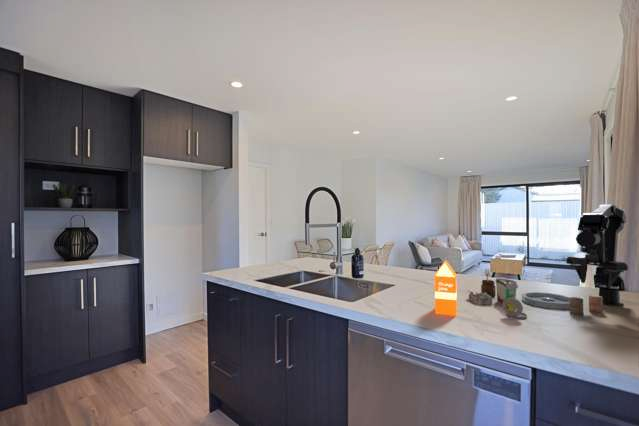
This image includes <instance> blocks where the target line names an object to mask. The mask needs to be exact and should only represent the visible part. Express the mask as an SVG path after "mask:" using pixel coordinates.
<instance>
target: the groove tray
mask: <svg viewBox="0 0 639 426" xmlns="http://www.w3.org/2000/svg"><path fill="white" fill-rule="evenodd" d="M570 297H571V296H567V295H563V294H557V293H550V292H542V291H541V292H539V291H530V292H524V293H522V294H521V299H522V300H521V301H522V302H523V303H525V304H528V305H530V306H535V307H538V308H544V309H552V310H570Z"/></svg>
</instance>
